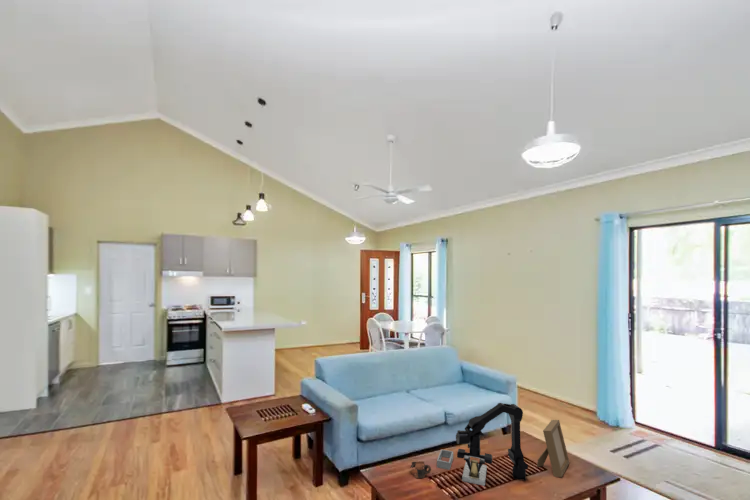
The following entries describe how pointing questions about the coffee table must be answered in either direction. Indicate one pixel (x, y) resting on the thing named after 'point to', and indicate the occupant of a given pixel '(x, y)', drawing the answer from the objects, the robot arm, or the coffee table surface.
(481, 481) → the plate
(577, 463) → the coffee table surface
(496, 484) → the coffee table surface
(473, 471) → the pale yellow rod
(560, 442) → the photo frame
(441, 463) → the gray hollow rectangular block
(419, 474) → the pottery mug
